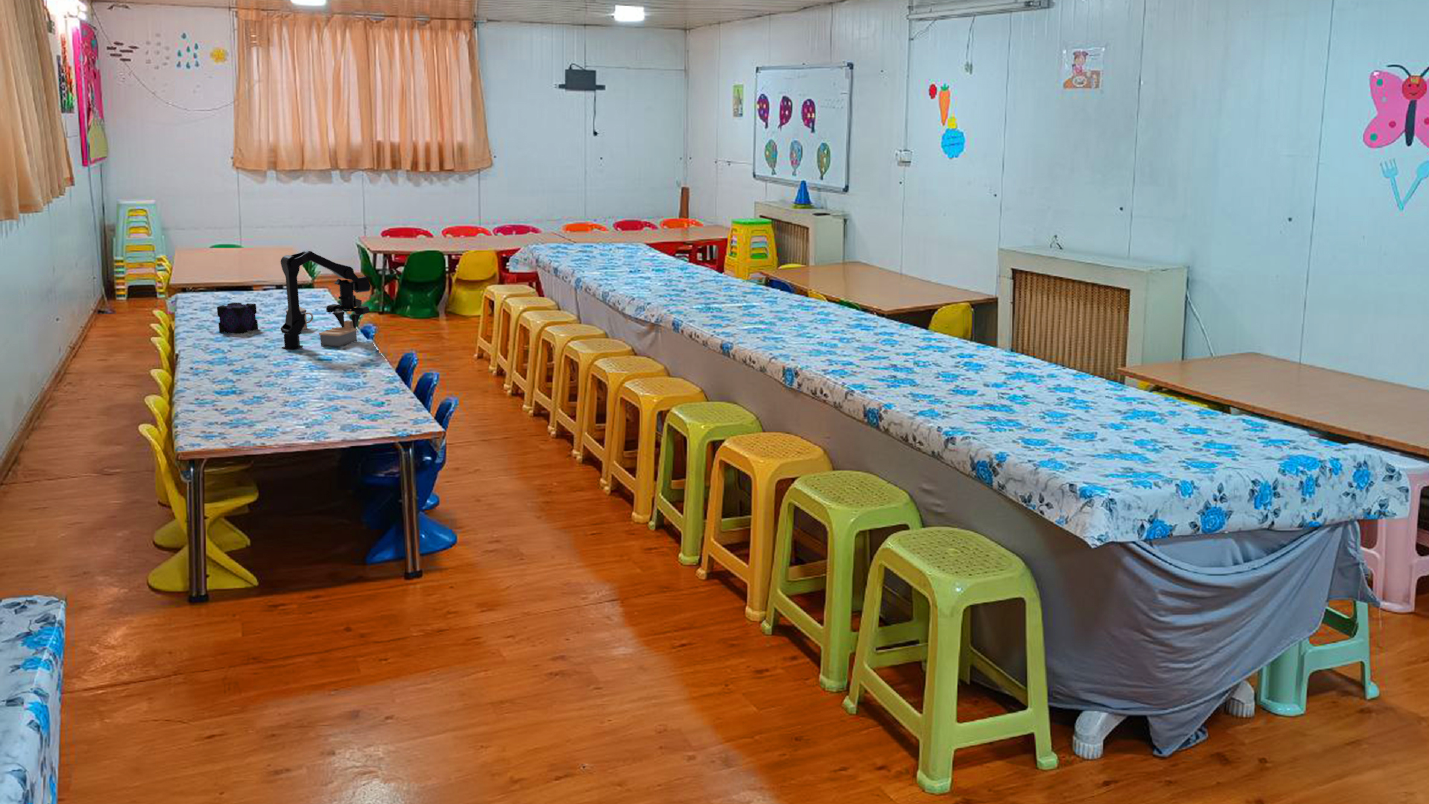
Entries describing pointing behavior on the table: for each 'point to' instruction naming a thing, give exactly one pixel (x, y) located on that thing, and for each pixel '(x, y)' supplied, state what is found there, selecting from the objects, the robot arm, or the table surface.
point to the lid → (340, 329)
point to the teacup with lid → (305, 317)
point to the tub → (338, 340)
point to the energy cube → (237, 318)
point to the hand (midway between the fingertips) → (349, 328)
